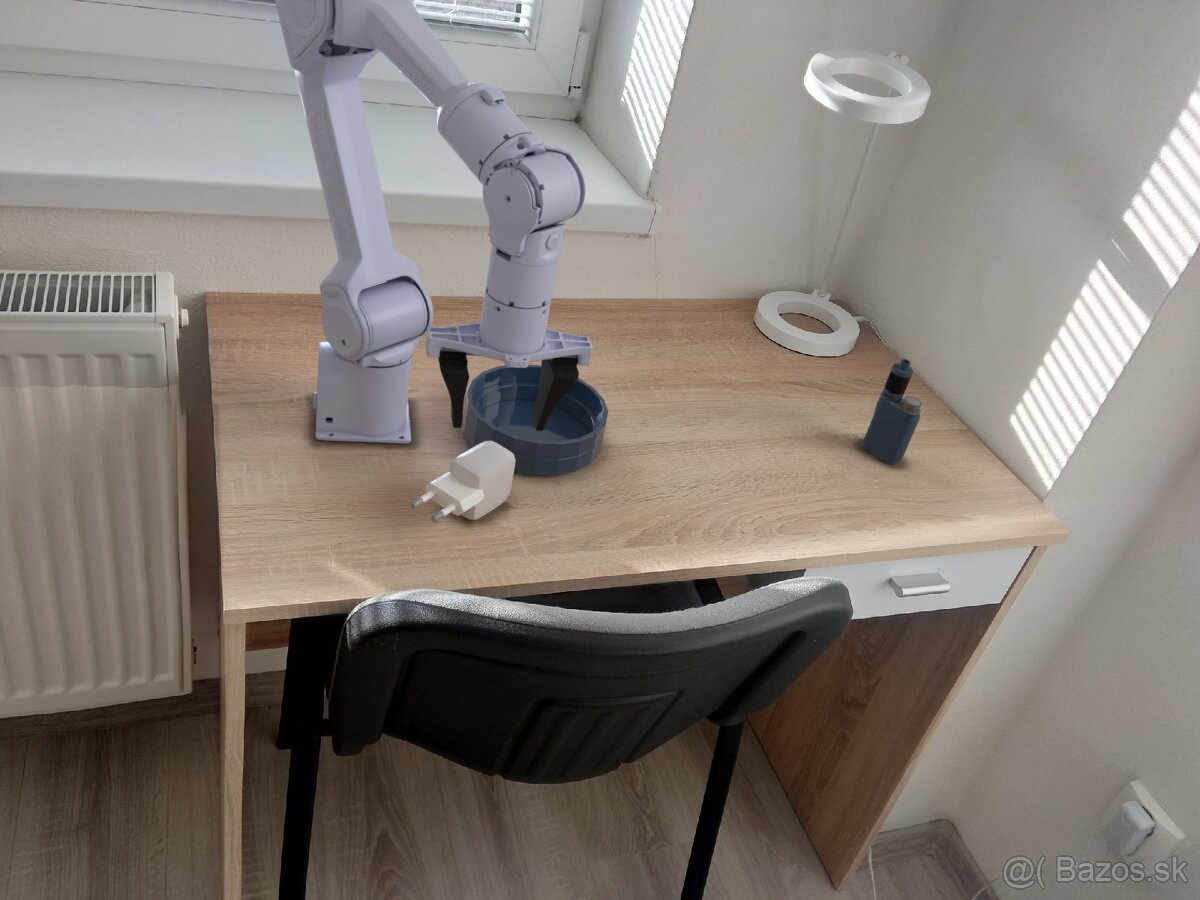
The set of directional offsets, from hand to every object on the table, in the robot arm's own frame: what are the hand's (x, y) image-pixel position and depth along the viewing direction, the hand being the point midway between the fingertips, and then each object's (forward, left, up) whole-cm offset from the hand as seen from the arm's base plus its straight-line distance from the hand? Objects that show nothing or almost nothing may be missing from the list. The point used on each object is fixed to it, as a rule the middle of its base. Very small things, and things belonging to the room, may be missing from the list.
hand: (497, 423), depth 97 cm
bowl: (+6, +11, -10) cm, 16 cm away
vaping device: (+48, +11, -10) cm, 51 cm away
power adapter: (-3, -2, -10) cm, 10 cm away
